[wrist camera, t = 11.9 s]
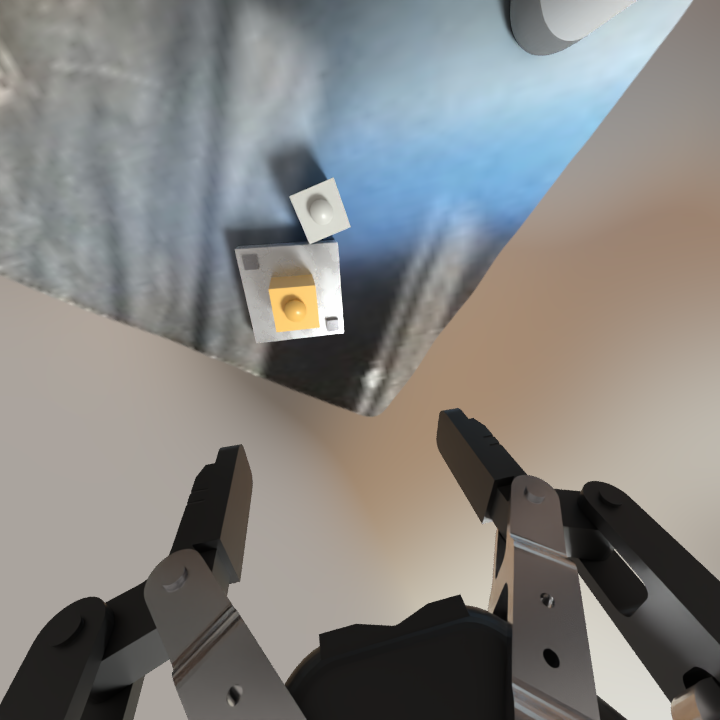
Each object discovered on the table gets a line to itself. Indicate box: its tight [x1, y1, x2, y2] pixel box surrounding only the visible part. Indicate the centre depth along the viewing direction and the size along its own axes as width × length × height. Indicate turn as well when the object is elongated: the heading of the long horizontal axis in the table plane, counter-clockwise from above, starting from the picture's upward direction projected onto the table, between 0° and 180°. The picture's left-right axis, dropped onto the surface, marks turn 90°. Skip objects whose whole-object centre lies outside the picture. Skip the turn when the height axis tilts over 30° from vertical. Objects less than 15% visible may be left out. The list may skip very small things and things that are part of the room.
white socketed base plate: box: [235, 240, 344, 343], centre depth 37 cm, size 12×12×7 cm
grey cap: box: [289, 178, 351, 244], centre depth 34 cm, size 5×5×6 cm
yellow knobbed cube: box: [268, 274, 320, 332], centre depth 35 cm, size 5×5×6 cm
